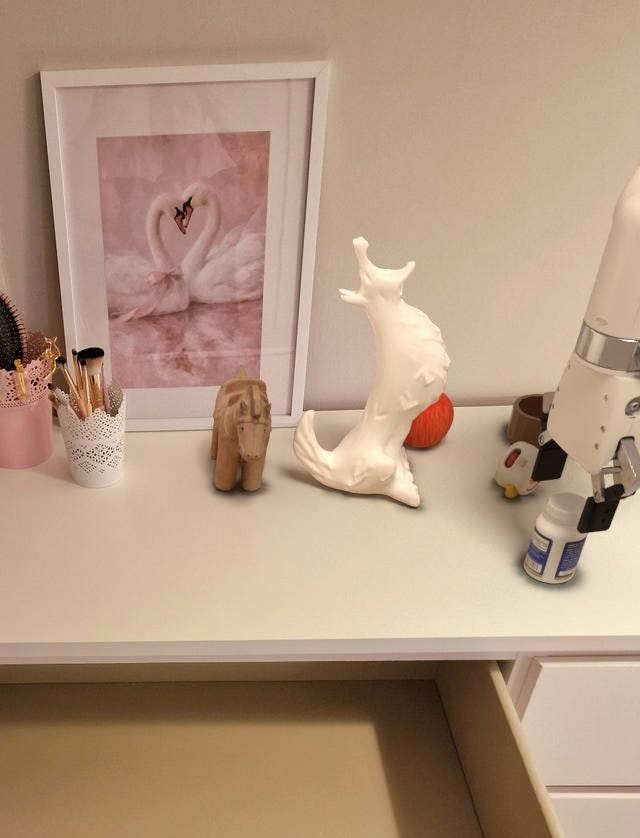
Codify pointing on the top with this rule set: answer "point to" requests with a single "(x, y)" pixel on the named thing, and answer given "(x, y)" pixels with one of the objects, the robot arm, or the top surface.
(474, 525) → the top surface
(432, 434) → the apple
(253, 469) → the figurine
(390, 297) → the sculpture
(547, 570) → the pill bottle
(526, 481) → the roller toy
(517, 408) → the holder
